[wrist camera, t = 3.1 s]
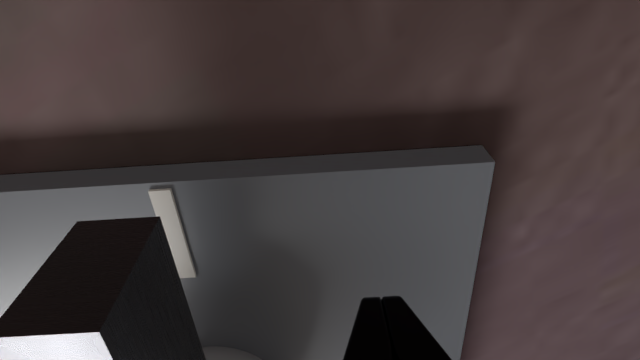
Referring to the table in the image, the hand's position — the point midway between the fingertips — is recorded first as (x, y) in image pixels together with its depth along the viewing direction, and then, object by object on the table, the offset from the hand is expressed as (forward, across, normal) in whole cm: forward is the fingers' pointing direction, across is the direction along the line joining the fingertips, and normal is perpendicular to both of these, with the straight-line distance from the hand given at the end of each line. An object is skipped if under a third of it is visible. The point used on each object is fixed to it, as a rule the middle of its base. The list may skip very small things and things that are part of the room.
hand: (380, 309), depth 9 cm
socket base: (+4, +6, +7) cm, 10 cm away
